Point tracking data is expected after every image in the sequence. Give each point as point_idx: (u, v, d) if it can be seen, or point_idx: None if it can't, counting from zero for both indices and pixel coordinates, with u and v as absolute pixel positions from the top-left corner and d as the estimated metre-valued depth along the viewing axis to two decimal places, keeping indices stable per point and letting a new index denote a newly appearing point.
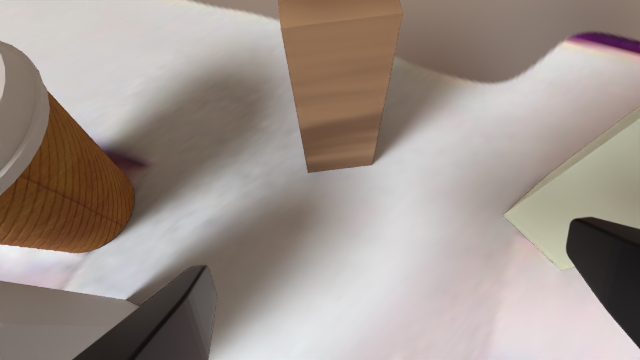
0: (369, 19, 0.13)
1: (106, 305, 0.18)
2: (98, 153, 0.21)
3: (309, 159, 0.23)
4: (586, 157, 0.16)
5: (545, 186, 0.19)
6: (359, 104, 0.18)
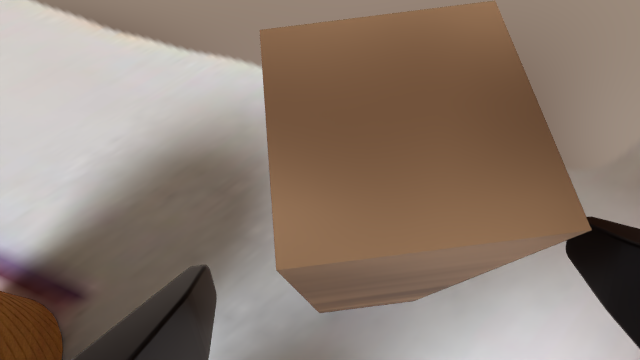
0: (503, 243, 0.05)
1: None
2: None
3: (323, 309, 0.15)
4: None
5: None
6: (420, 286, 0.10)
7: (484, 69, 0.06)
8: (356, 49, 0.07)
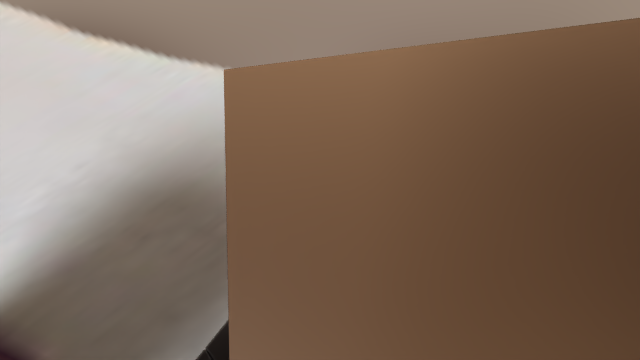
0: None
1: None
2: None
3: None
4: None
5: None
6: None
7: None
8: (428, 117, 0.03)
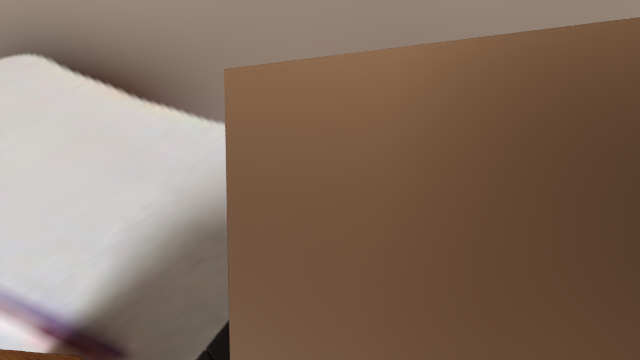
0: None
1: None
2: None
3: None
4: None
5: None
6: None
7: None
8: (428, 115, 0.03)
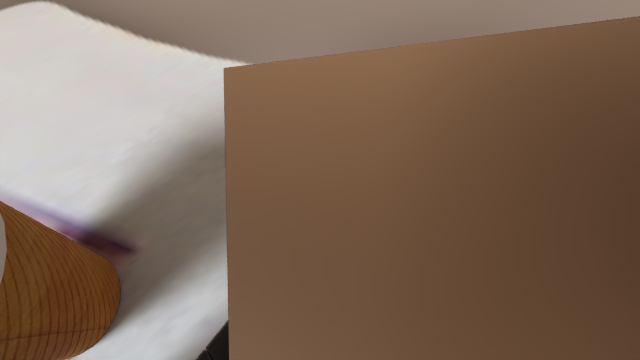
0: None
1: None
2: (75, 263, 0.18)
3: None
4: None
5: None
6: None
7: None
8: (428, 114, 0.03)
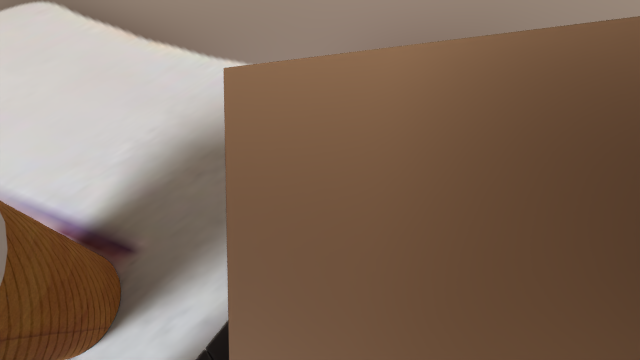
0: None
1: None
2: (75, 263, 0.18)
3: None
4: None
5: None
6: None
7: None
8: (428, 115, 0.03)
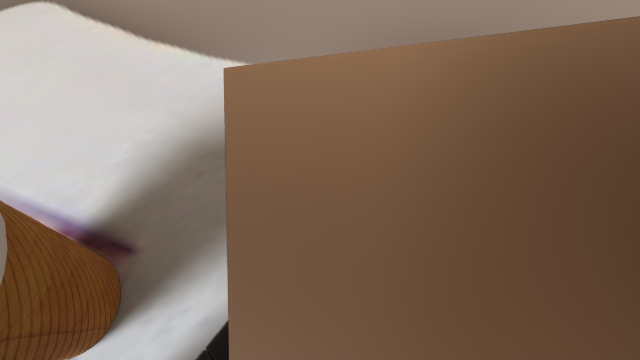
0: None
1: None
2: (75, 263, 0.18)
3: None
4: None
5: None
6: None
7: None
8: (428, 115, 0.03)
